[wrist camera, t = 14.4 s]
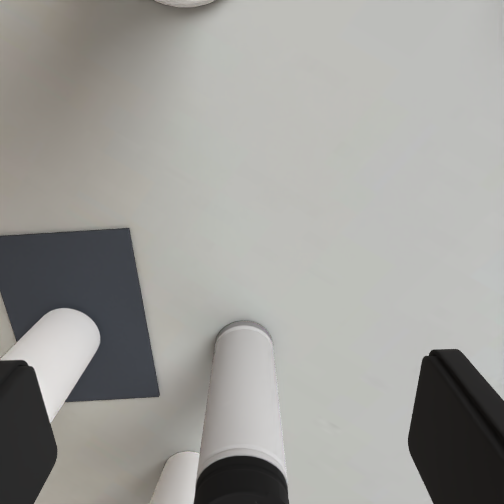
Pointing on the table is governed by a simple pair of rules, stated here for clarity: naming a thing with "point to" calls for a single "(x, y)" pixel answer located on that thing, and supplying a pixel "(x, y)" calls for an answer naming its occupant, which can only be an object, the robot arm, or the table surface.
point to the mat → (84, 303)
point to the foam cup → (177, 480)
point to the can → (58, 353)
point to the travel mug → (242, 423)
